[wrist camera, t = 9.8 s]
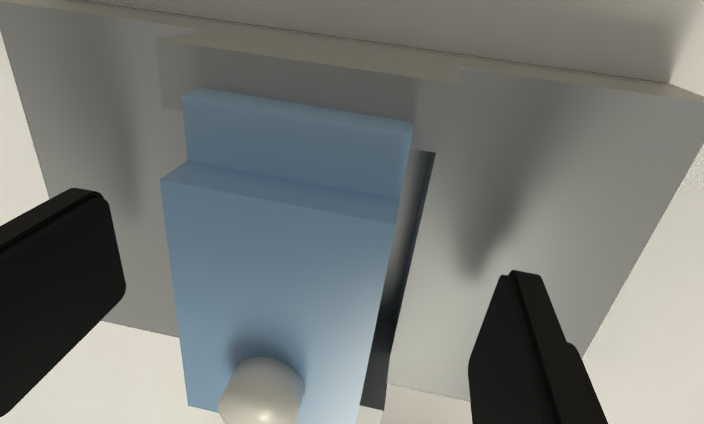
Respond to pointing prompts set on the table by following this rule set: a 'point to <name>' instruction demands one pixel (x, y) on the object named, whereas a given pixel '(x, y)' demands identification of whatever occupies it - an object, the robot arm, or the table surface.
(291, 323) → the block
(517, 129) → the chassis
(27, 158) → the table surface
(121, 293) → the robot arm
